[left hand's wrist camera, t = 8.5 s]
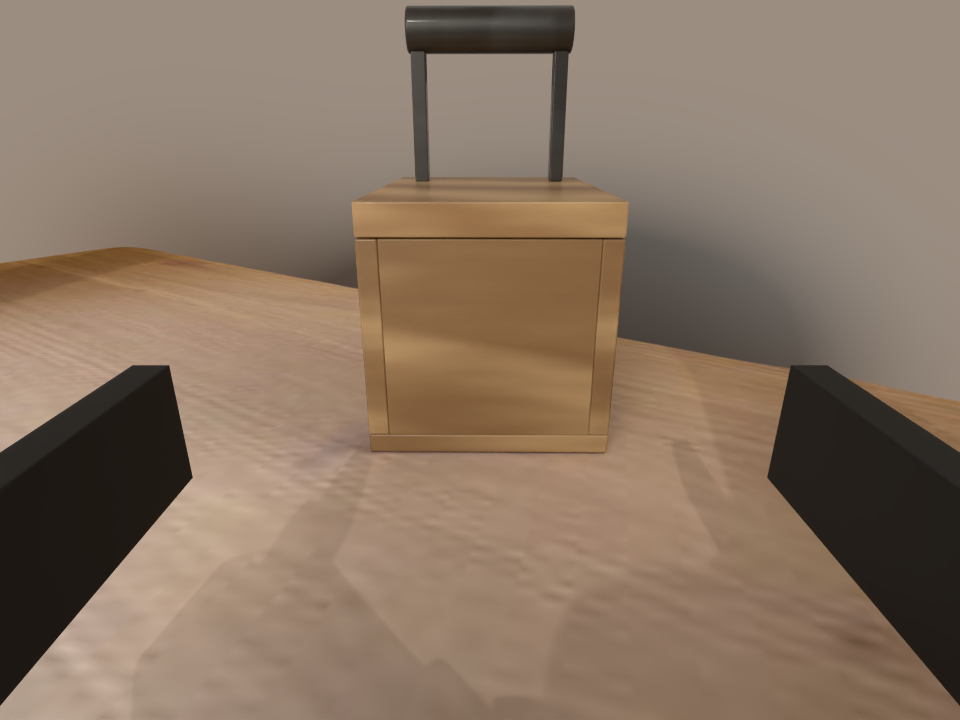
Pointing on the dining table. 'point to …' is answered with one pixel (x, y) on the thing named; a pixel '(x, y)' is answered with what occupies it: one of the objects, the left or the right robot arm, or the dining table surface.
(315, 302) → the dining table surface
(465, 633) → the dining table surface
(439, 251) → the chest
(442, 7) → the lid
